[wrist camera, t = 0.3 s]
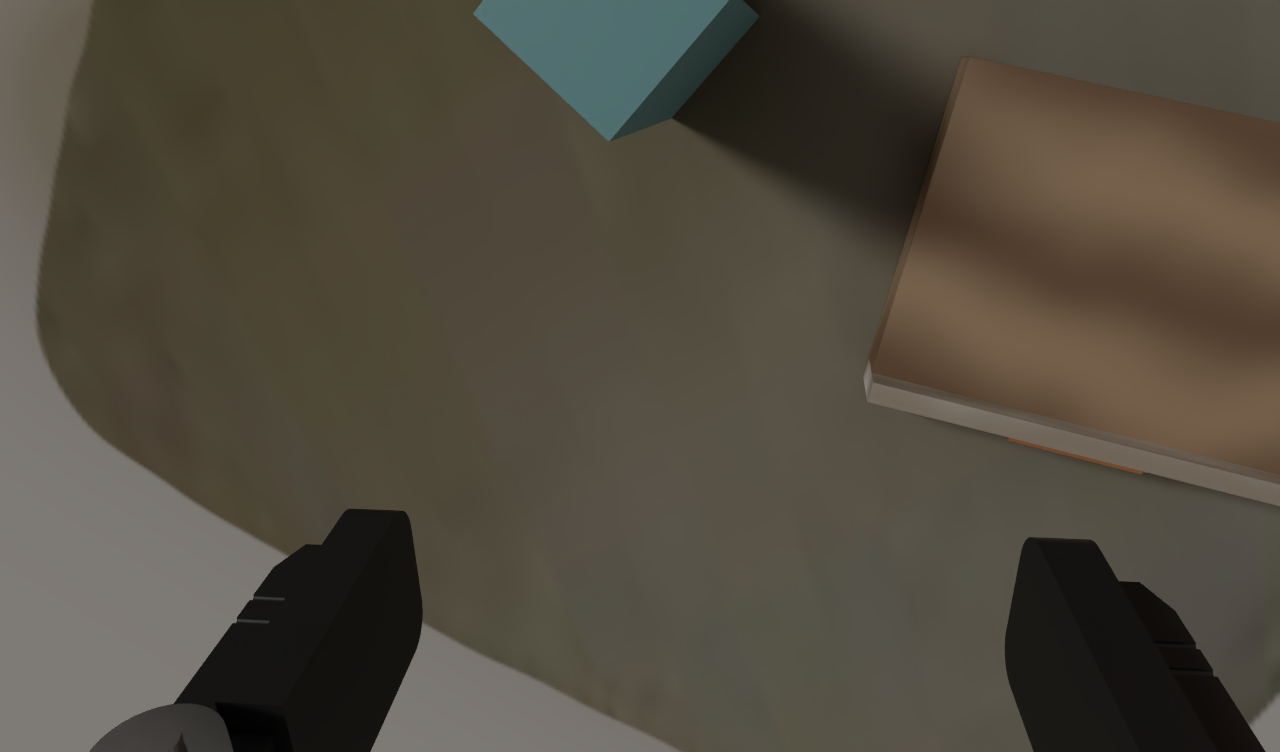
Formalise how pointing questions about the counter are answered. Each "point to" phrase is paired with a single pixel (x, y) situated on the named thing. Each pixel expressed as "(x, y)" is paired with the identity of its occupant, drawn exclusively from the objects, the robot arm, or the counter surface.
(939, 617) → the counter surface
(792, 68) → the counter surface
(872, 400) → the shelf
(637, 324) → the counter surface
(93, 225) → the counter surface
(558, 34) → the tea box
